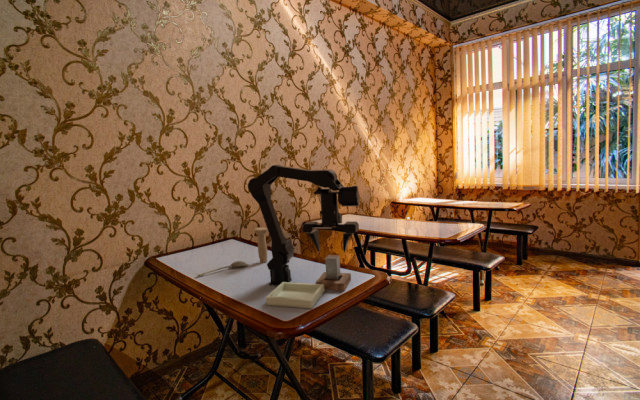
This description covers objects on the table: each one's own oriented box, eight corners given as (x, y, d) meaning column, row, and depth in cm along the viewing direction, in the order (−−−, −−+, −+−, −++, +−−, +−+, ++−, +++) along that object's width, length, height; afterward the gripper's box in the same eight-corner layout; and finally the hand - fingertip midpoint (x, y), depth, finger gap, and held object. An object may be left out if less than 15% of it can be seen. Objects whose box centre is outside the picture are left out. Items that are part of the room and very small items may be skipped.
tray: (266, 305, 106) (265, 297, 105) (283, 288, 118) (282, 282, 118) (311, 308, 101) (311, 300, 101) (324, 291, 113) (324, 284, 113)
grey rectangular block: (326, 286, 118) (325, 258, 116) (330, 282, 121) (328, 255, 120) (338, 287, 116) (336, 258, 115) (340, 282, 120) (339, 255, 119)
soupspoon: (251, 268, 146) (245, 265, 152) (251, 260, 146) (244, 258, 151) (200, 280, 133) (195, 276, 139) (199, 271, 133) (194, 268, 138)
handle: (264, 259, 154) (261, 226, 153) (272, 261, 150) (269, 228, 148) (255, 261, 151) (252, 228, 149) (262, 264, 146) (259, 230, 145)
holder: (315, 289, 116) (315, 282, 115) (324, 278, 125) (324, 272, 125) (344, 291, 113) (344, 283, 112) (351, 280, 122) (350, 273, 122)
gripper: (360, 202, 120) (362, 245, 122) (311, 203, 126) (313, 244, 128) (354, 208, 110) (356, 254, 112) (300, 208, 115) (303, 253, 117)
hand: (331, 251), depth 117 cm, fingers open, 9 cm apart
